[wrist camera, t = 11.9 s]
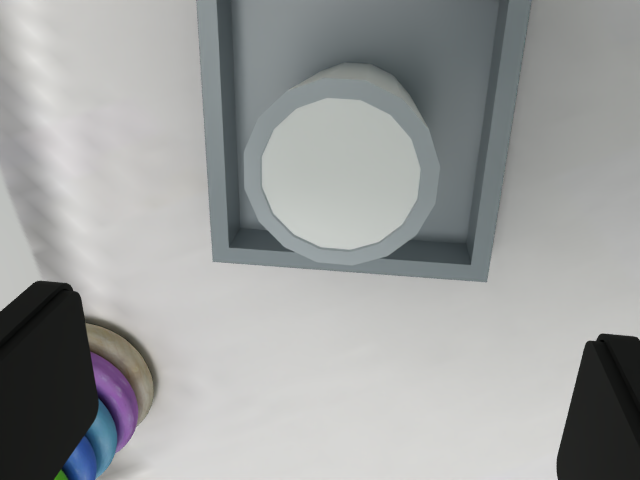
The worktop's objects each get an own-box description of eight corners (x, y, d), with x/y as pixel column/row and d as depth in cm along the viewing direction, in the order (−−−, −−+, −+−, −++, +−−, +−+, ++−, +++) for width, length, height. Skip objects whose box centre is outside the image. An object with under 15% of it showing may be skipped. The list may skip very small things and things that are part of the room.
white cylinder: (464, 112, 26) (484, 163, 20) (367, 225, 29) (357, 300, 23) (337, 12, 25) (316, 32, 19) (249, 139, 28) (205, 193, 22)
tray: (520, -27, 25) (535, -24, 22) (479, 252, 30) (486, 282, 27) (215, -35, 26) (194, -33, 23) (229, 235, 31) (212, 261, 29)
